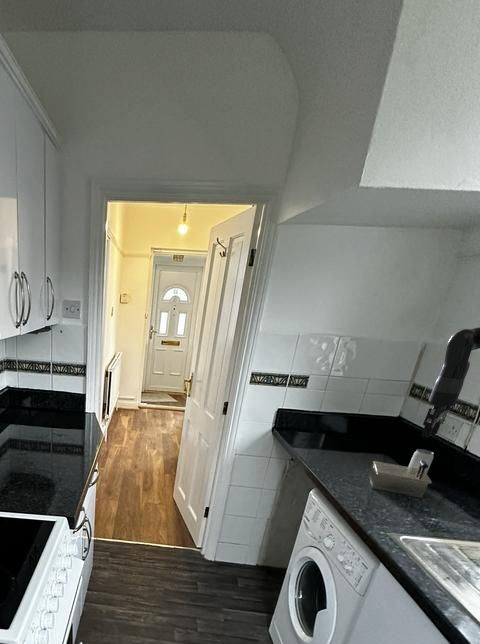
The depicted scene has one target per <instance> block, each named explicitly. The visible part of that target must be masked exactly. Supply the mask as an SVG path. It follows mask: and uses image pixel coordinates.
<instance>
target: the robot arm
mask: <svg viewBox="0 0 480 644" xmlns="http://www.w3.org/2000/svg"><path fill="white" fill-rule="evenodd" d="M479 349H480V326H479V327H474V328H462V329H459V330H457V331H455V332H454V333H453V334H452V335H451V336H450V338H449V340H448V342H447V345H446V348H445V354H444V360H443V362H444V363H443V365H442V367H441V368H440V372H439V375H438V376H437V379H436V381H435V383H434V385H433V388H432V390H431V392H430V395H429V397H428V403H430V404H433V406H432V407H430V408H428V411H427V413H426V415H425V417H424V420H423V423H422V425H423V426H424V427H423V430H422V431H421V435H420V436H421V437H422V438H426V439H428V438H430V436H431V435H438V432H439V429H440V427H441V425H442V424H443V423H444V422H445V421H446V417H447V415H448V412H449V410H450V407H454V406H456V404H457V401H458V399H459V397H460V394H461V391H462V389H463V386H464V384H465V383H464V382H465V379H466V376H467V375H468V372H469V369H470V367H471V363H470V361H469V360H470V356H471V354H472V351H476V350H479Z"/></svg>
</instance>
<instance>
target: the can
mask: <svg viewBox="0 0 480 644" xmlns="http://www.w3.org/2000/svg"><path fill="white" fill-rule="evenodd" d="M434 454H435V453H434V452H433V451H431V450H427V449H424V448H423V449H422V448H417V449H416V451H414V453H413V455H412V457H411V459H410V462H409V464H408V466H407V467H411V468H417V469H419V467H420V464H419V462H420V461H421V460H424V461H425V462H426V464H427V465H428V468H426V469H425V470H424V471H425V473H426V474H427V475H428V472H429V469H430V467H431V466H432V465H431V464H432V462H433V460H434Z"/></svg>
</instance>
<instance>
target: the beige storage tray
mask: <svg viewBox="0 0 480 644" xmlns="http://www.w3.org/2000/svg"><path fill="white" fill-rule="evenodd" d="M367 476H368V480H369V481H368V482H369V483H370V486H371V489H372V490H377V491H382V492H388V493H391V494H392V493H393V494H397V495H403V496H408V497H411V498H412V497H413V498H418V499H423V497H424V494H425V492H426V490H427V487H428V485H429V484H428V483H423V482H417V481H412V480H407V479H401V478H396V477H390V476H385V475H380V474H377V473H376V470H375V467H374V464H373V463H372V464H371V467H370V470H369V472H368V475H367Z"/></svg>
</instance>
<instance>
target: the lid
mask: <svg viewBox="0 0 480 644" xmlns="http://www.w3.org/2000/svg"><path fill="white" fill-rule="evenodd" d="M372 464H374V467H375V470H376V473H377V474H380V475H385V476H390V477H396V478H401V479H407V480H412V481H417V482H423V483H428V485H432V483H433V481H432V480H431V478H430V477H429V475H428V473H427V474H426V473H425V471H424V470H425V469H426V468H428V465H427V464H426V462H425V461H424V460H421V461H420V462H419V464H420V467H419V469H417V468H411V467H408V466H404V465H399V464H394V463H387V462H382V461H377V460H373V461H372Z"/></svg>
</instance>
